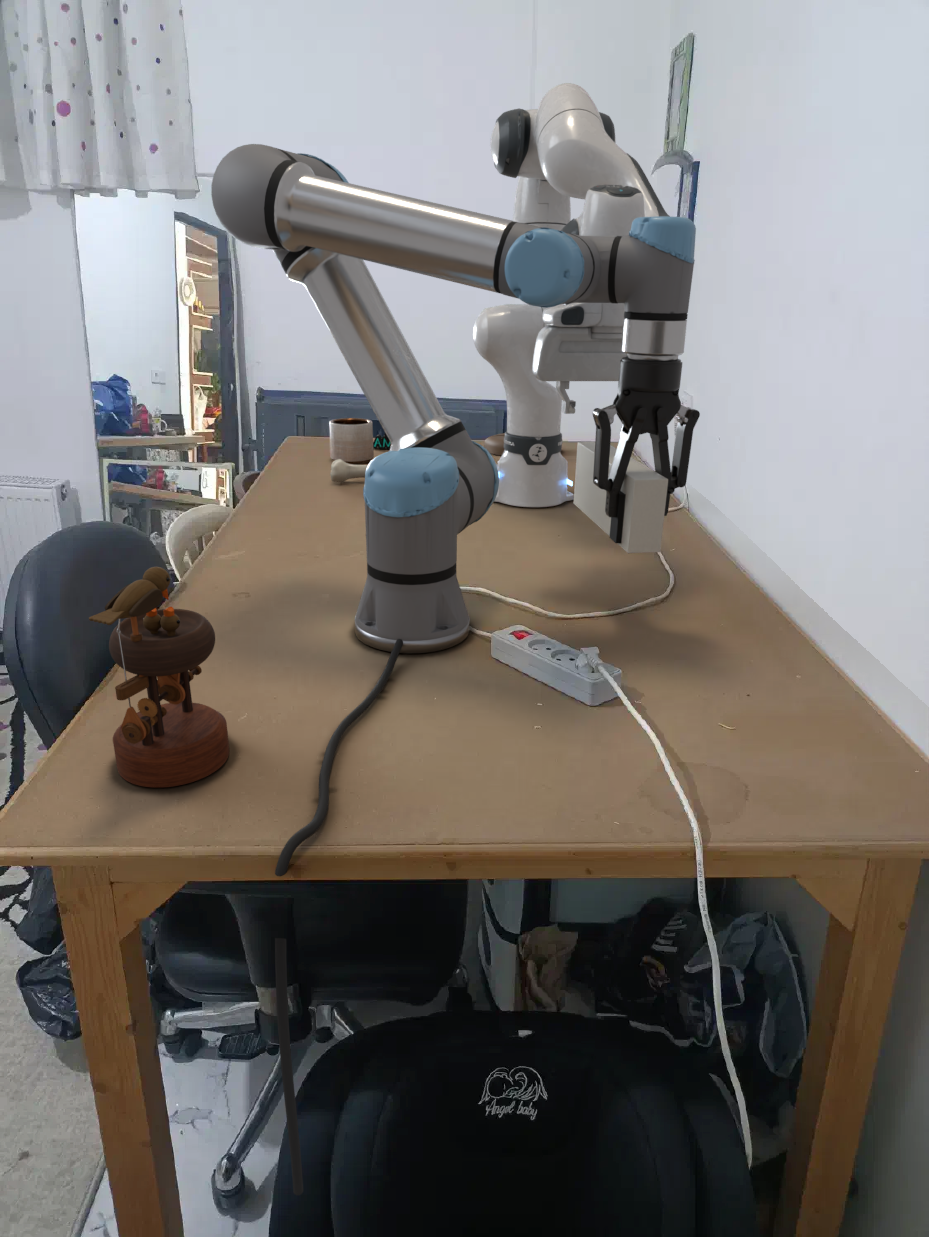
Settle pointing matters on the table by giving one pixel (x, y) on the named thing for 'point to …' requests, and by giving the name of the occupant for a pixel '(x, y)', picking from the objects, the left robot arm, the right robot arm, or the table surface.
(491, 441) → the ice cream bar
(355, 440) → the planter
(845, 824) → the table surface
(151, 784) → the music box
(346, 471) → the dog toy
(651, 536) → the bar
